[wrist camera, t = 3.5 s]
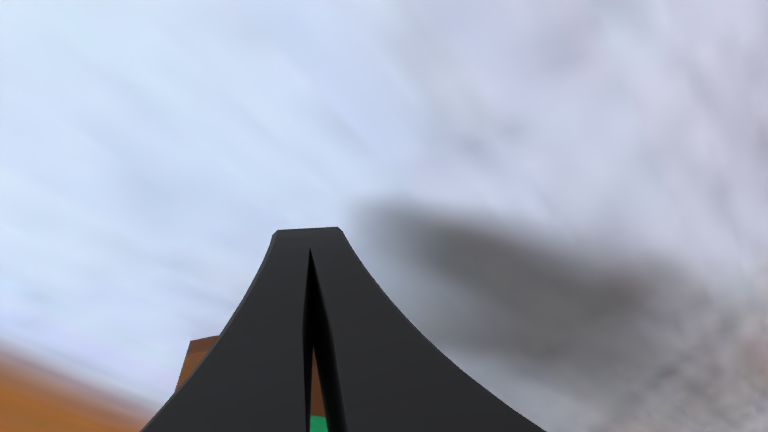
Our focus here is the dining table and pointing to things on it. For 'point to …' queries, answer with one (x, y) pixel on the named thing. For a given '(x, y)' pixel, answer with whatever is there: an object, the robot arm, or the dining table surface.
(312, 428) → the food container
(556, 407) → the dining table surface
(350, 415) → the robot arm
